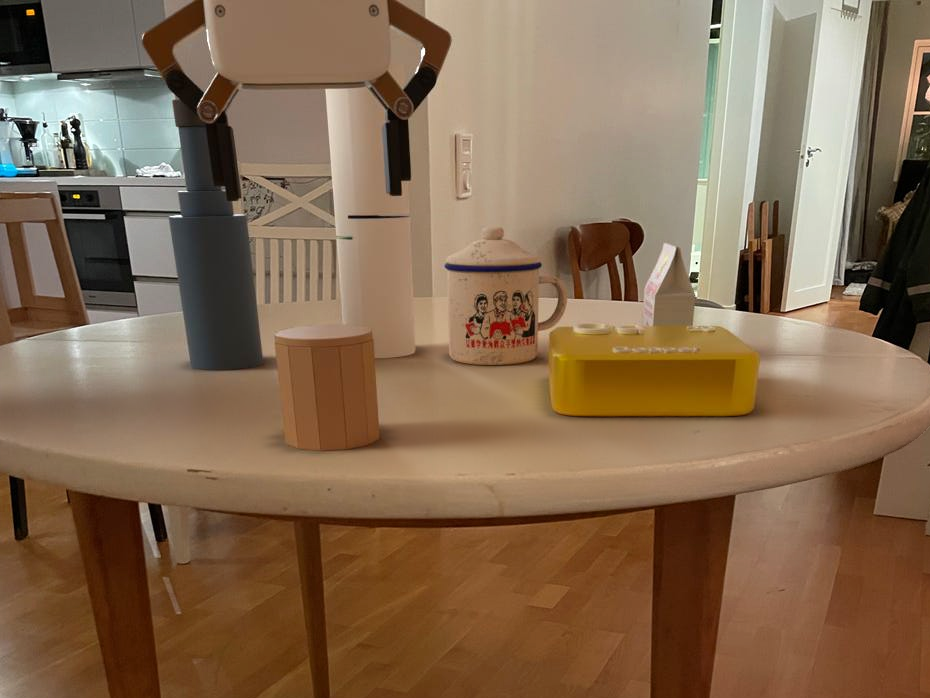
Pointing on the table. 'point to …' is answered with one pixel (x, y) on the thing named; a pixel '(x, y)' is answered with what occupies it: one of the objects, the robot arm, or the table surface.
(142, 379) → the table surface
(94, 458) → the table surface
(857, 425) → the table surface
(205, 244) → the water bottle
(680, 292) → the milk carton
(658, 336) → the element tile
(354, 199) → the cylindrical container
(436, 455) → the table surface
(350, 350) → the light wood cylinder
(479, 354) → the teacup with lid
